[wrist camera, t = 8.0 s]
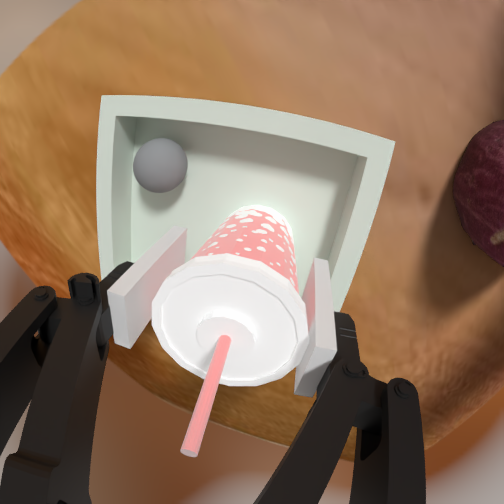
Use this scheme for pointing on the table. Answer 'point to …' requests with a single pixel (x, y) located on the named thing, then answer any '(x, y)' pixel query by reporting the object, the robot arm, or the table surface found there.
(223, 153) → the tray
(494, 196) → the vegetable
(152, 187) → the ball
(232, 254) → the beverage cup
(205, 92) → the table surface
